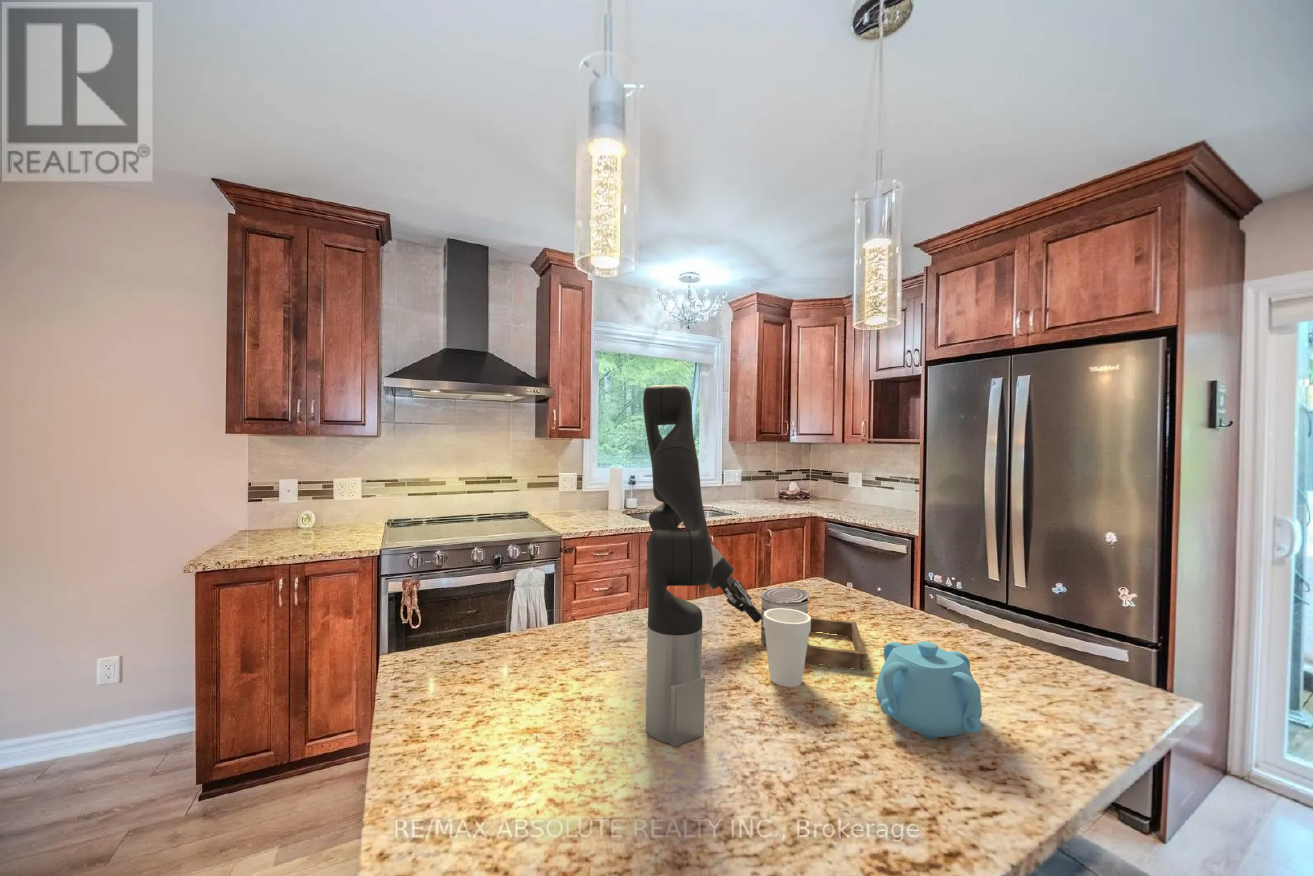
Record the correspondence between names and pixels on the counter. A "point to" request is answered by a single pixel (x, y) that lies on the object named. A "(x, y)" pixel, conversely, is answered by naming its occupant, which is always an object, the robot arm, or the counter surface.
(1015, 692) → the counter surface
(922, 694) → the decorative pot
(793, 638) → the foam cup
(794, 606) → the can
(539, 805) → the counter surface
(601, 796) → the counter surface
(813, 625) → the tray
